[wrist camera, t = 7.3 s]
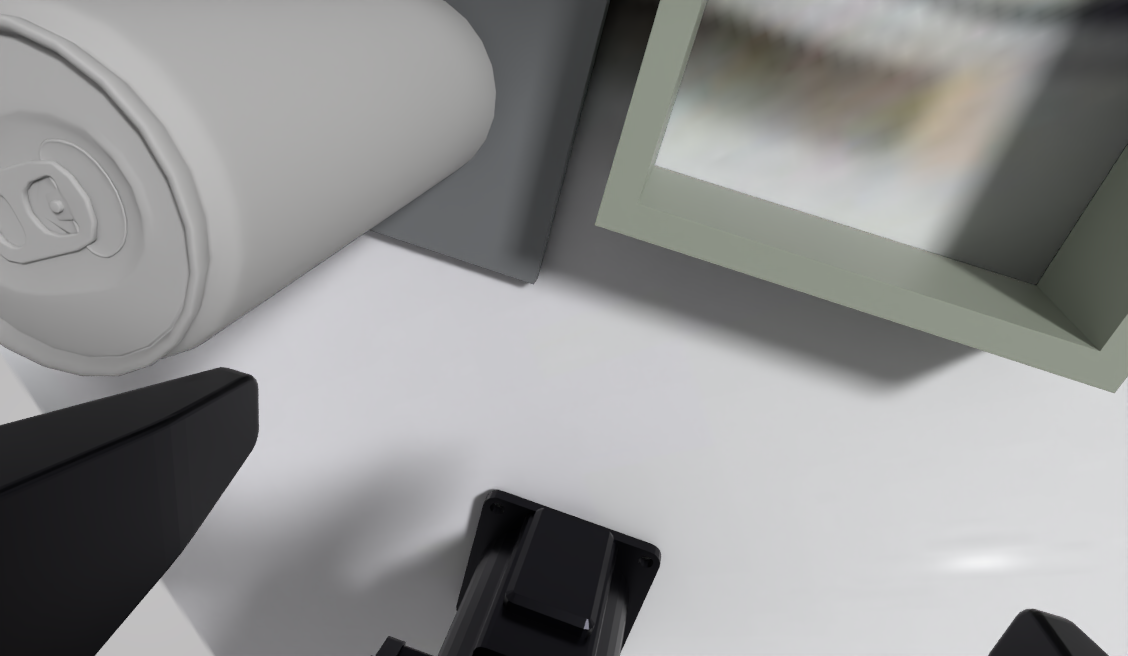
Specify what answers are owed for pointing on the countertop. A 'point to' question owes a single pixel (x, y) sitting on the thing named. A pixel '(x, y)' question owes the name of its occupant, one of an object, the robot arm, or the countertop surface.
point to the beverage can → (209, 157)
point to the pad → (513, 138)
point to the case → (873, 245)
